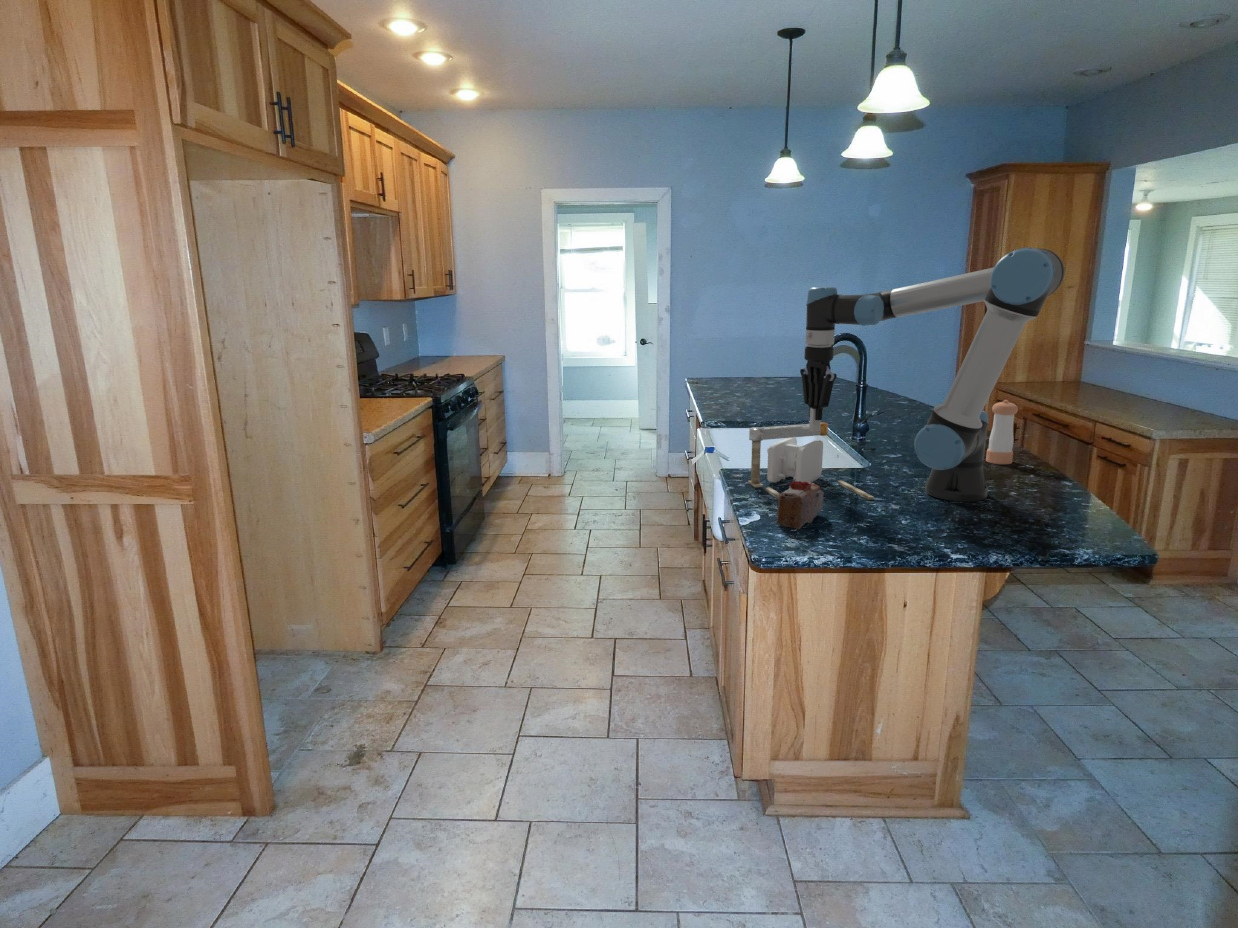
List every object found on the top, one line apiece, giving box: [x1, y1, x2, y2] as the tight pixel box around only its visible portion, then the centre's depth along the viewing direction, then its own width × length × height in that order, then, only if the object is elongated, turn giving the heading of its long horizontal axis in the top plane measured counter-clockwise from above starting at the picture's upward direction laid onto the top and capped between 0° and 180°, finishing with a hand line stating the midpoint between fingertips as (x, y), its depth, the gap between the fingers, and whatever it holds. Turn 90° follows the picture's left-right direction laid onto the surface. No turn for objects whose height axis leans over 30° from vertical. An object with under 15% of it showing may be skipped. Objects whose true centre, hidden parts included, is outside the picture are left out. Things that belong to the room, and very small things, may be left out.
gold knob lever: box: [748, 421, 829, 442], centre depth 206 cm, size 4×24×3 cm, turn 104°
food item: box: [776, 480, 825, 530], centre depth 177 cm, size 14×8×10 cm, turn 147°
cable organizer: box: [766, 437, 824, 484], centre depth 209 cm, size 15×11×12 cm
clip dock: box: [747, 440, 875, 501], centre depth 200 cm, size 24×25×13 cm
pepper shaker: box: [985, 399, 1019, 465], centre depth 224 cm, size 7×7×19 cm
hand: (814, 430), depth 204 cm, fingers closed
